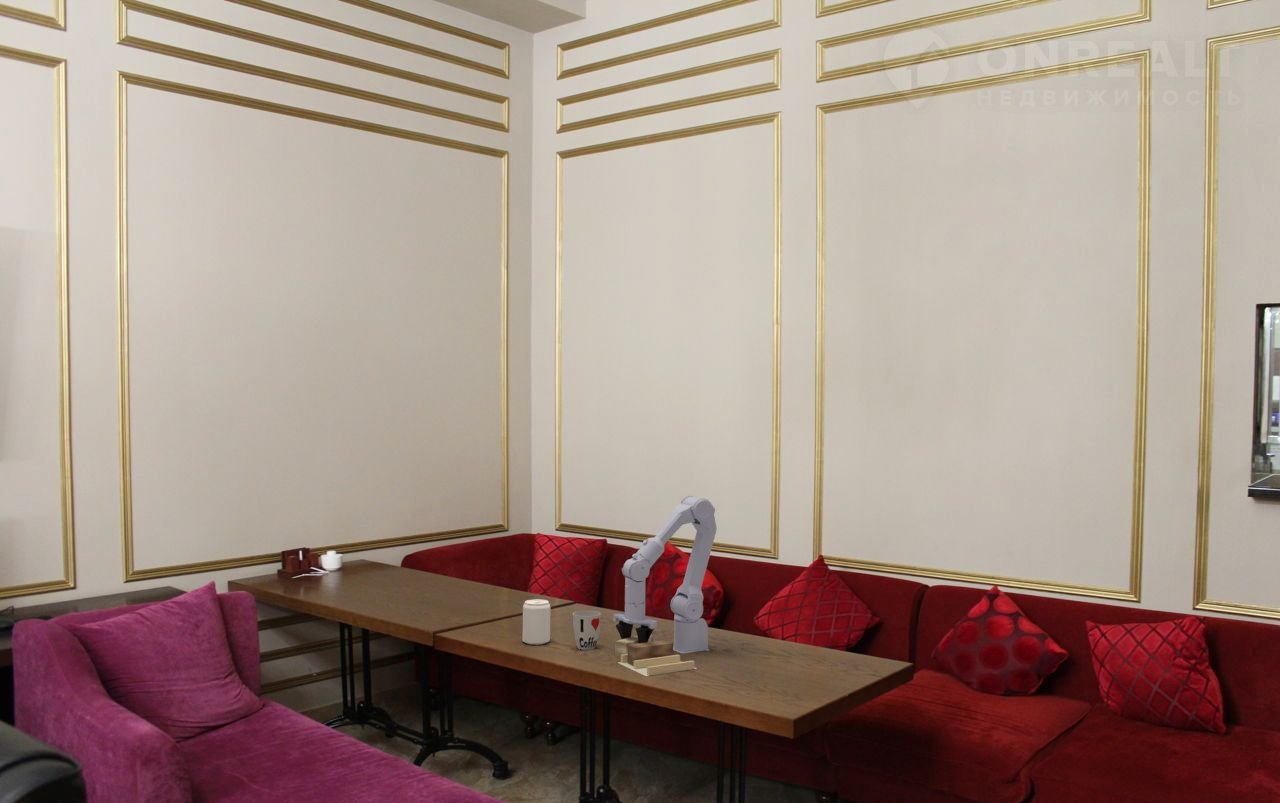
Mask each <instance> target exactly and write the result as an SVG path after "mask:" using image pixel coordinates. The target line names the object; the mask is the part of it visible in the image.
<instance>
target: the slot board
mask: <svg viewBox="0 0 1280 803" xmlns="http://www.w3.org/2000/svg"><path fill="white" fill-rule="evenodd" d="M617 664H619V665H622V666H623V667H625V668H627V669H629V670H632V671H634V672H635V673H638V674H640V675H642V676H644V677H649V676H655V675H663V674H670V673H675V672H677V673H678V672H683V671H690V670H697V669H698V668H697V667H695V660H687V661H681V655H680V654H673V655H672V656H664V657H657V658H649V659H642V660H635V661H634V666H632V665H630V664H628V654H623V655H621V658H620V662H617Z"/></svg>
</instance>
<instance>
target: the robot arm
mask: <svg viewBox="0 0 1280 803" xmlns="http://www.w3.org/2000/svg"><path fill="white" fill-rule="evenodd" d="M715 513H716V508H715V506H714V505H713V504H712V502H710V500H709V499H708V498H705V497H704V498H702V497H697V496H696V497H695V496H693V495H687V496H685V497H684V498H683V499H682V500H681V502H680V503H678V504H677V505H676V506H675V508H674V510H673V512H672V513H671V515H670V516H669V518H668V519H667V520H666V522H665V523H664V524H663V526H662V527H661V528H660V529H659V531H658V532H657V534H656V535H655V536H654V537H647V539H644V540H643V542H642V546H641V547H640V548H639V549H638V550H637V552H636V553H633V554H632V558H630V559H627V560H626V561H625V563H624V564H623V566H622V568H621V573H622V575H623V577H624V579H625V581H624V582H625V583H624V584H625V585H624V614H622V613H615V614H613V618H612V619H613V620H612V621H613V622H615V623H616V622H618V623H617V624H616V625H615V628H616V630H617V631H618V634H619V635H620V638H621V639H620V640H622V639H625V638H629V637H632V633H633V628H634V626H639V627H635V632H636V636H638V643H646V642H648V640H649V638H650V635H651V636H652V634H653V632H654V630H655V629H657V628H658V620H654V619H651V618H650V617H646V578H648V577H649V576H650V571H651V570H650V569H651V568H652V567H653V565H654V564H655V563H656V561H657V560H658V559H659V558H660V557H661V556H662V554H663V553H664V552H665V544H666V543H667V542H668V541H669V540H670V539H671V538H672V537H673V536H674V535H675V534H676V532H678V530H679V529H681V528H682V526H683V525H686V524H692V525H693V527H694V528H695V530H696V533H695V537H694V541H693V545H692V548H691V552H690V555H689V560H688V562H687V563H688V564H687V567H686V571H685V574H684V578H683V581H682V582H683V583H682V584H681V585H680V586H679V587H678V588H676V593H675V595H674V596H673V597H672V599H671V600H670V610H671V611H672V613H673V614H674V617H673V618H674V619H673V651H675V652H677V653H679V654H688V653H689V654H690V653H696V652H703V651H707V652H709V651H710V649H709V627H708V623H707V621H706V619H704V618H702V615H703V612H704V605H703V604H704V603H703V601H704V594H703V591H702V586H703V581H704V579H705V575H706V571H707V567H708V564H709V560H710V556H711V552H712V549H713V545H714V540H715V537H716V533H717V524H716V517H715Z"/></svg>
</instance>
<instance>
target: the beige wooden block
mask: <svg viewBox="0 0 1280 803" xmlns="http://www.w3.org/2000/svg"><path fill="white" fill-rule="evenodd" d="M654 638H655V637H654V635H652V634H651V635H650V638H649V640H648V642H654V641H655V640H654ZM630 644H638V636H637V635H633V636H631V637H629V638H625V639H622V640H621V639H619V640H616V641H614V657H616V658H620V659H621V655H623V654H628V645H630Z"/></svg>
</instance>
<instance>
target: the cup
mask: <svg viewBox="0 0 1280 803" xmlns="http://www.w3.org/2000/svg"><path fill="white" fill-rule="evenodd" d="M601 618H602V613H601V612H600V611H597V610H578V611H574V612H572V624H573V626H572V627H573V633H574V639H575V644H576V646H577V649H578V650H580V649H581V651H592V649H593V650H595V649H596V647H597V643H598V640H599V635H600V629H601V620H602V619H601Z"/></svg>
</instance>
